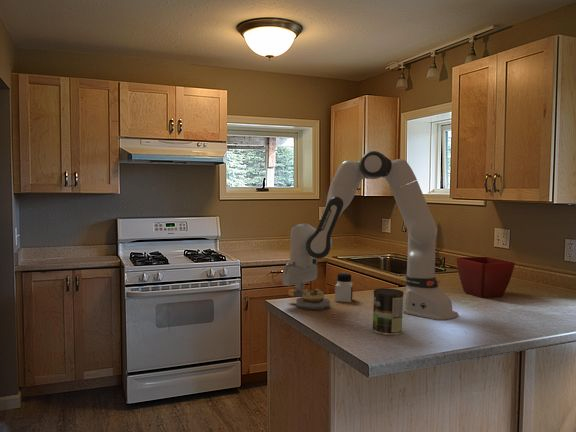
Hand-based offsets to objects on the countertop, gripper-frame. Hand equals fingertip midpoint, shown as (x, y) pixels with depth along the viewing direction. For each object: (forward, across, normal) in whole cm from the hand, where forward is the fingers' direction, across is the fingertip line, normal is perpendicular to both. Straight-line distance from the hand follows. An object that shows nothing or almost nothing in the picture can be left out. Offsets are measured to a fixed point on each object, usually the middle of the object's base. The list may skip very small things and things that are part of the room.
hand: (299, 293), depth 214 cm
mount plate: (+4, -1, -8) cm, 9 cm away
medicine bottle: (+5, +18, -11) cm, 21 cm away
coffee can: (+5, -12, -48) cm, 50 cm away
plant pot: (+5, +74, -54) cm, 92 cm away
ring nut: (+1, -2, -4) cm, 5 cm away
